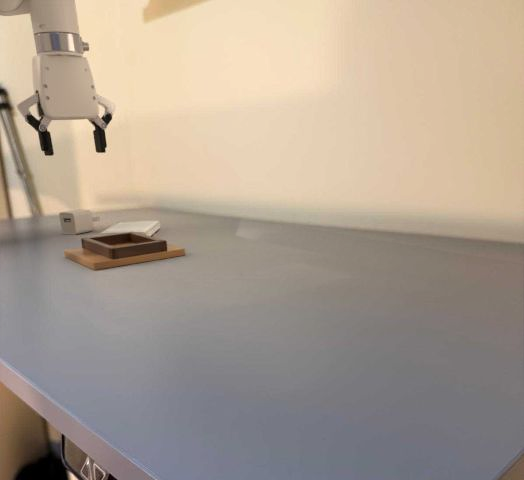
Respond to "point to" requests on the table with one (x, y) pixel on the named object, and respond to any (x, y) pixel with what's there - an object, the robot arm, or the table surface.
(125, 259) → the wooden tray
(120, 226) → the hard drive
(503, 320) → the table surface
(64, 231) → the usb wall charger
